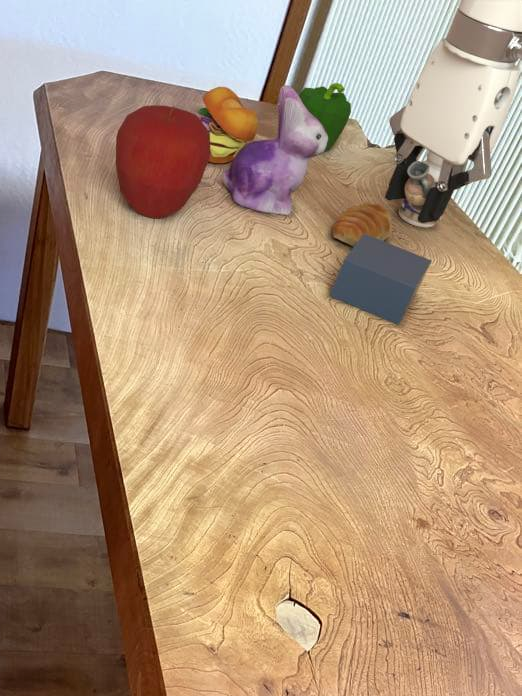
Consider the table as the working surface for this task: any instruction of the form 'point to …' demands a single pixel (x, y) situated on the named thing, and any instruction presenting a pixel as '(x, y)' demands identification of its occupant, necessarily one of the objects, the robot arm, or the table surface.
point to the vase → (418, 185)
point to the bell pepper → (328, 109)
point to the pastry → (363, 223)
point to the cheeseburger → (226, 124)
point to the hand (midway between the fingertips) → (411, 208)
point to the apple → (160, 158)
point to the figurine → (277, 159)
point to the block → (380, 278)
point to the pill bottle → (435, 168)
